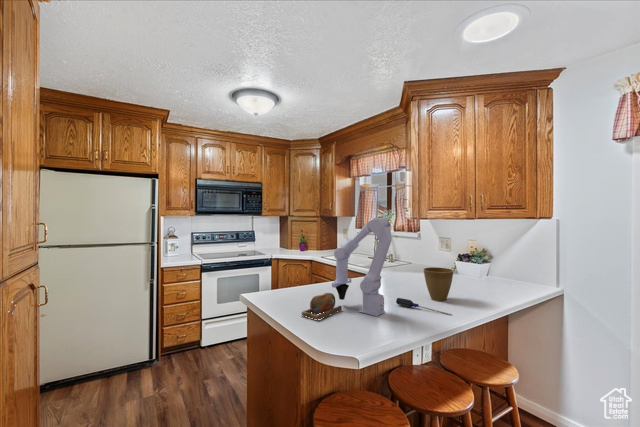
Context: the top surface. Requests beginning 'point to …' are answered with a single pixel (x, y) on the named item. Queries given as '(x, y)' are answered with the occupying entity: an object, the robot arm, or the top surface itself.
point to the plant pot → (438, 282)
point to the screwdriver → (410, 304)
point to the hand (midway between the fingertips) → (341, 299)
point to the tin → (322, 303)
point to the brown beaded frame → (308, 313)
